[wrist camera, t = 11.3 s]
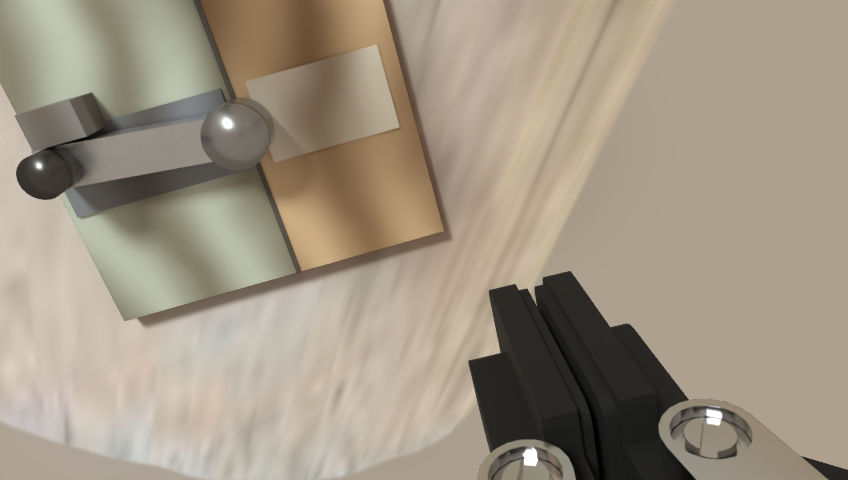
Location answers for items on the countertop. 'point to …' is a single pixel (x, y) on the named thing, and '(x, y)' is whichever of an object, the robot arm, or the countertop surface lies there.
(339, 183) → the lock board
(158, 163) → the arm
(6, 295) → the countertop surface
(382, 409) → the countertop surface
